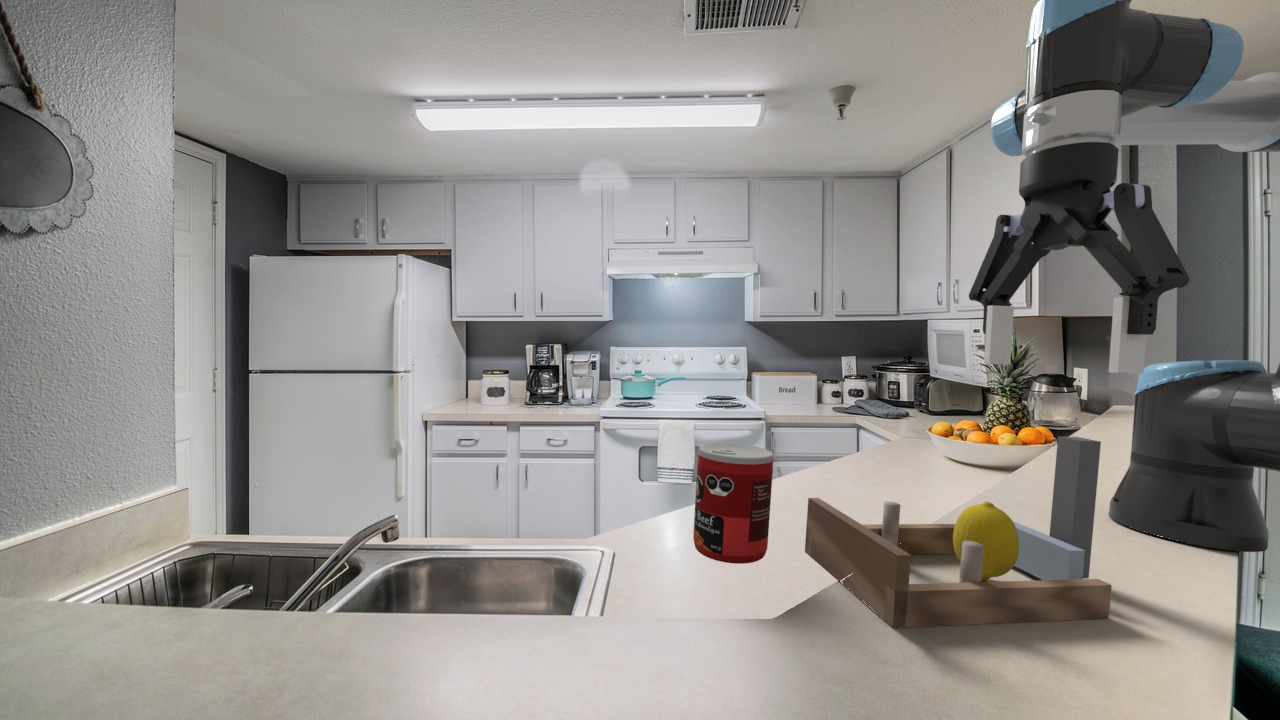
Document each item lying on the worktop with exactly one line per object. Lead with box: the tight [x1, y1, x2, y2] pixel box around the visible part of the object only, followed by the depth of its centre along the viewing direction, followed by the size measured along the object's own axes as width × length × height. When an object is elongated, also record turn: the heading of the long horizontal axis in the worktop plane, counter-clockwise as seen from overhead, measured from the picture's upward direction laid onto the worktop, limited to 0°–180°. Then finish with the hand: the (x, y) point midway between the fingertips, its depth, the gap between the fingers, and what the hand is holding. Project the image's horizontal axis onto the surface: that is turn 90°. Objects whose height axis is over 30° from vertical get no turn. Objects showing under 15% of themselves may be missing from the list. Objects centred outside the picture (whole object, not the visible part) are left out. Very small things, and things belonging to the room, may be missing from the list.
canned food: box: [692, 442, 774, 565], centre depth 58 cm, size 8×8×11 cm
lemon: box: [953, 501, 1019, 582], centre depth 53 cm, size 6×6×8 cm
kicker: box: [1013, 436, 1102, 580], centre depth 54 cm, size 6×8×14 cm
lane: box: [804, 497, 1113, 629], centre depth 52 cm, size 21×15×6 cm
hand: (1053, 368), depth 53 cm, fingers open, 13 cm apart
